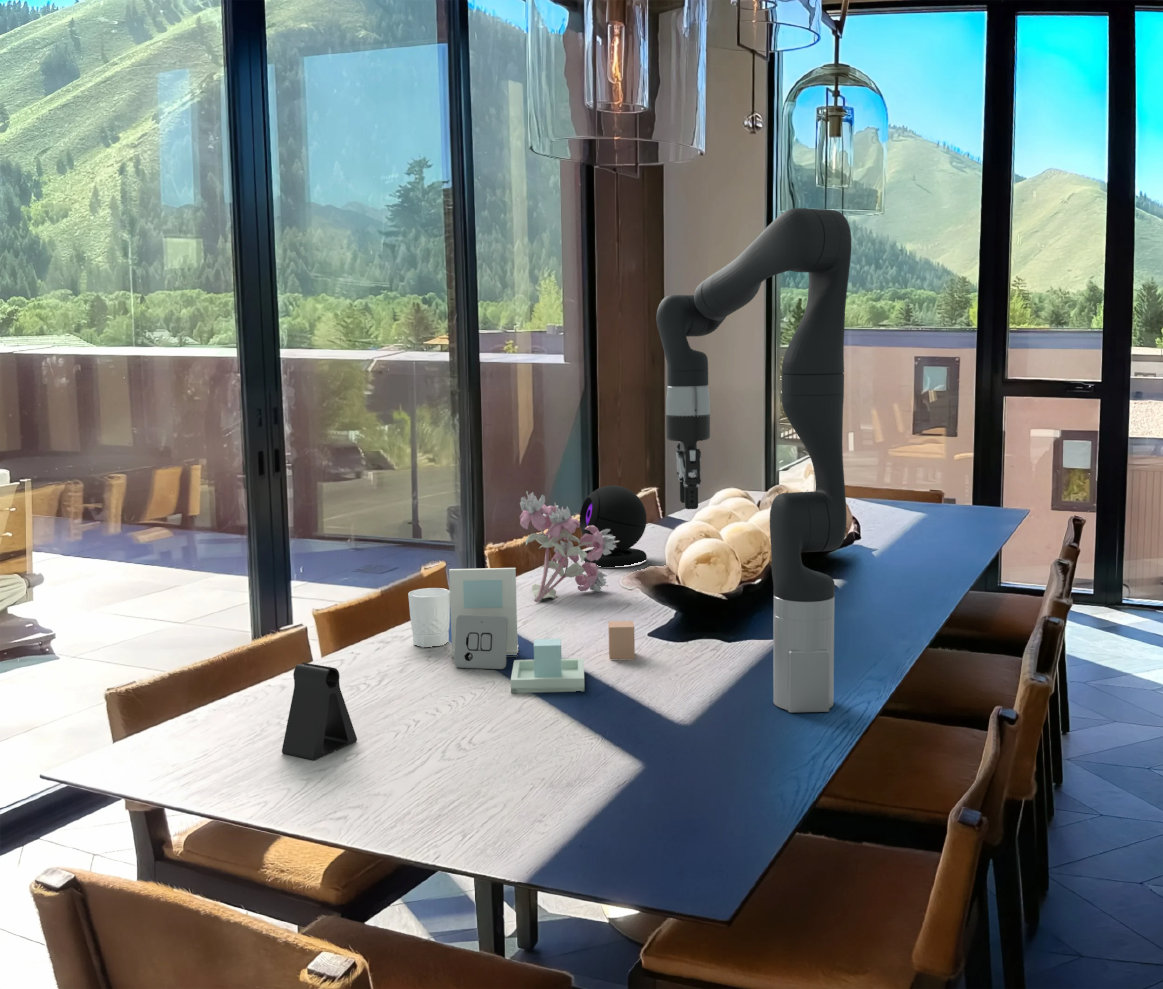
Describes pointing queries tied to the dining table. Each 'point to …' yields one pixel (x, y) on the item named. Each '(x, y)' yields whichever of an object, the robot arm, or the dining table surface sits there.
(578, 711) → the dining table surface
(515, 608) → the placard
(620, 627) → the terracotta block
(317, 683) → the black triangular stand
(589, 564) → the flower
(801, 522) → the robot arm
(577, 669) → the tray
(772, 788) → the dining table surface
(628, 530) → the webcam
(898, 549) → the dining table surface
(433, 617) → the white cup
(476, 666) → the electrical switch
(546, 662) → the blue block
